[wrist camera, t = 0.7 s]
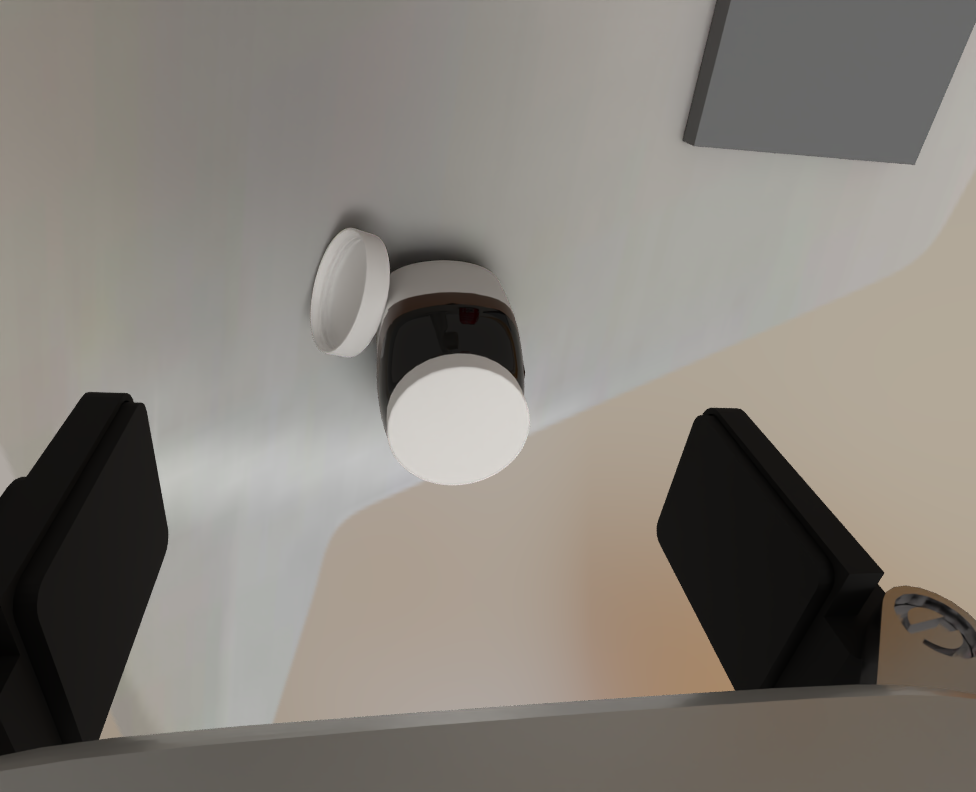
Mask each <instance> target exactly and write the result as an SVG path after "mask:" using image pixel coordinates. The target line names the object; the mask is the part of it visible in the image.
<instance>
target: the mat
mask: <svg viewBox="0 0 976 792" xmlns="http://www.w3.org/2000/svg"><path fill="white" fill-rule="evenodd" d="M975 23H976V0H717V3H716V7H715V11H714V15H713V20H712V24H711V28H710V32H709V36H708V40H707V44H706V48H705V52H704V56H703V60H702V64H701V69H700V73H699V77H698V81H697V85H696V89H695V93H694V97H693V101H692V105H691V109H690V114H689V118H688V122H687V126H686V130H685V134H684V138H683V141H684V142H687V143H689V144H691V145H693V146H700V147H712V148H723V149H735V150H747V151H758V152H770V153H782V154H794V155H805V156H817V157H829V158H840V159H852V160H864V161H875V162H887V163H899V164H910V165H915V163H916V160H917V158H918V156H919V153H920V151H921V149H922V146H923V144H924V142H925V139H926V137H927V135H928V132H929V130H930V128H931V125H932V123H933V121H934V118H935V116H936V114H937V111H938V109H939V107H940V104H941V102H942V100H943V97H944V95H945V93H946V90H947V88H948V86H949V83H950V81H951V79H952V76H953V74H954V72H955V69H956V67H957V65H958V62H959V60H960V58H961V55H962V53H963V51H964V48H965V46H966V44H967V41H968V39H969V37H970V34H971V32H972V30H973V27H974V25H975Z"/></svg>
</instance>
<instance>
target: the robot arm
mask: <svg viewBox="0 0 976 792" xmlns="http://www.w3.org/2000/svg"><path fill="white" fill-rule="evenodd" d="M657 537H658V541H659V543H660V545H661V547H662V549H663V551H664V553H665V555H666V557H667V559H668V561H669V563H670V565H671V567H672V569H673V571H674V573H675V575H676V576H677V578H678V580H679V582H680V584H681V586H682V588H683V590H684V592H685V594H686V596H687V598H688V600H689V602H690V604H691V605H692V608H693V610H694V611H695V613H696V615H697V617H698V619H699V621H700V623H701V625H702V627H703V629H704V631H705V633H706V634H707V637H708V639H709V640H710V643H711V644H712V646H713V648H714V650H715V652H716V654H717V656H718V658H719V660H720V662H721V664H722V666H723V668H724V670H725V672H726V674H727V676H728V678H729V679H730V681H731V683H732V685H733V687H734V689H735V691H725V692H709V693H693V694H678V695H662V696H647V697H632V698H618V699H604V700H588V701H574V702H560V703H545V704H532V705H517V706H503V707H490V708H475V709H461V710H448V711H434V712H420V713H407V714H394V715H381V716H367V717H354V718H341V719H328V720H315V721H303V722H289V723H276V724H262V725H249V726H237V727H226V728H215V729H205V730H194V731H183V732H172V733H161V734H150V735H140V736H129V737H118V738H109V739H101V740H99V738H100V735H101V732H102V729H103V727H104V724H105V721H106V718H107V715H108V713H109V710H110V707H111V704H112V702H113V699H114V696H115V693H116V690H117V688H118V685H119V682H120V679H121V676H122V674H123V671H124V668H125V665H126V662H127V660H128V657H129V654H130V651H131V648H132V646H133V643H134V640H135V637H136V635H137V632H138V629H139V626H140V623H141V621H142V618H143V615H144V612H145V609H146V607H147V604H148V601H149V598H150V595H151V593H152V590H153V587H154V584H155V581H156V579H157V576H158V573H159V570H160V568H161V565H162V562H163V559H164V556H165V554H166V550H167V545H168V526H167V521H166V515H165V510H164V504H163V499H162V493H161V488H160V482H159V477H158V471H157V466H156V460H155V454H154V449H153V443H152V438H151V432H150V427H149V421H148V416H147V411H146V407H145V405H144V404H143V403H134V402H133V399H132V397H131V395H130V394H128V393H103V392H88V393H85V394H84V395H83V396H82V398H81V399H80V400H79V402H78V403H77V405H76V406H75V408H74V409H73V411H72V412H71V413H70V415H69V416H68V418H67V419H66V421H65V422H64V424H63V425H62V426H61V428H60V429H59V431H58V432H57V434H56V435H55V436H54V438H53V439H52V441H51V442H50V444H49V445H48V447H47V448H46V449H45V451H44V452H43V454H42V455H41V457H40V458H39V460H38V461H37V462H36V464H35V465H34V467H33V468H32V470H31V471H30V472H29V474H28V475H27V477H20V478H18V479H15V480H14V481H13V482H12V483H11V484H10V485H9V486H8V487H7V488H6V490H5V491H4V493H3V494H2V496H1V497H0V792H976V620H975V619H974V618H973V617H972V616H971V615H969V614H968V613H967V612H966V611H964V610H963V609H962V608H960V607H959V606H957V605H956V604H955V603H953V602H952V601H950V600H948V599H946V598H944V597H942V596H940V595H938V594H936V593H934V592H930V591H928V590H925V589H922V588H918V587H911V586H899V587H893V588H892V589H890V590H889V591H887V592H886V593H885V592H884V591H883V590H882V589H881V587H880V586H879V585H878V582H879V581H880V579H881V578H882V576H883V574H884V572H883V571H882V569H881V568H880V567H879V566H878V565H877V564H876V563H875V561H874V560H873V559H872V558H871V557H870V556H869V554H868V553H867V552H866V551H865V550H864V549H863V548H862V546H861V545H860V544H859V543H858V542H857V541H856V540H855V538H854V537H853V536H852V535H851V534H850V533H849V532H848V530H847V529H846V528H845V527H844V526H843V525H842V523H841V522H840V521H839V520H838V519H837V518H836V517H835V515H834V514H833V513H832V512H831V511H830V510H829V509H828V507H827V506H826V505H825V504H824V503H823V502H822V500H821V499H820V498H819V497H818V496H817V495H816V494H815V492H814V491H813V490H812V489H811V488H810V487H809V486H808V485H807V483H806V482H805V481H804V480H803V479H802V477H801V476H800V475H799V474H798V473H797V472H796V471H795V469H794V468H793V467H792V466H791V465H790V464H789V463H788V462H787V460H786V459H785V458H784V457H783V456H782V454H780V452H779V451H778V450H777V449H776V448H775V447H774V445H773V444H772V443H771V442H770V441H769V440H768V438H767V437H766V436H765V435H764V434H763V433H762V432H761V430H760V429H759V428H758V427H757V426H756V425H755V423H754V422H753V421H752V420H751V419H750V418H749V417H748V415H747V414H746V413H745V412H744V411H743V410H741V409H737V408H709V409H707V410H706V411H705V412H704V413H703V415H700V416H698V417H697V418H696V419H695V420H694V423H693V425H692V428H691V431H690V434H689V436H688V439H687V442H686V445H685V447H684V450H683V453H682V456H681V459H680V461H679V464H678V467H677V470H676V473H675V475H674V478H673V481H672V484H671V487H670V489H669V492H668V495H667V498H666V500H665V503H664V506H663V509H662V511H661V515H660V517H659V520H658V523H657Z"/></svg>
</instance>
